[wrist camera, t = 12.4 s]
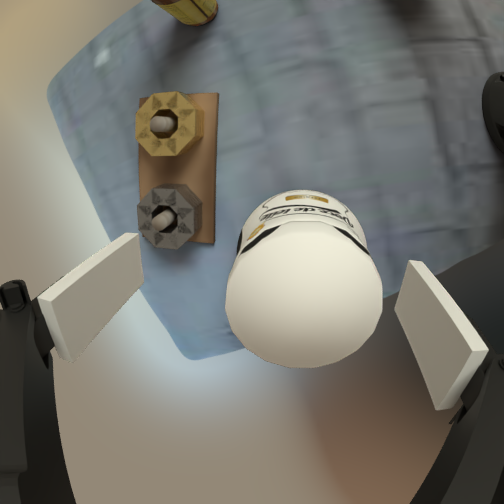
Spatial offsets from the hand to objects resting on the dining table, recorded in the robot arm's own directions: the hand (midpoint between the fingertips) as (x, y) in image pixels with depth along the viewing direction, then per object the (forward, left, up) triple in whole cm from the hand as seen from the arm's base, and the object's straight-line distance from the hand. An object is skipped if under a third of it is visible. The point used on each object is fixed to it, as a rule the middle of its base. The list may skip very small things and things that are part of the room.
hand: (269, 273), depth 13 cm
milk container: (-3, +9, -29) cm, 30 cm away
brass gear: (+16, -7, -28) cm, 33 cm away
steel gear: (+16, +6, -28) cm, 32 cm away
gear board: (+16, -1, -29) cm, 33 cm away
